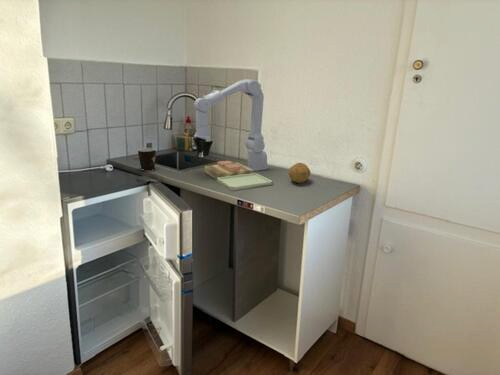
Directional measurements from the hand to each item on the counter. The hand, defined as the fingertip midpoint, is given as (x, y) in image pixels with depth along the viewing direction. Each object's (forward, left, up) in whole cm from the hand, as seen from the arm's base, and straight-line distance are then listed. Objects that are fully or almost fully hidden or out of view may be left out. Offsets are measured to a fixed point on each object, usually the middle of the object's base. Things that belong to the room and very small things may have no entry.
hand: (203, 154), depth 179 cm
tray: (-11, +20, -10) cm, 25 cm away
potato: (-34, +29, -10) cm, 46 cm away
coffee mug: (+23, -21, -10) cm, 32 cm away
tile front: (-11, +7, -7) cm, 15 cm away
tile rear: (-11, 0, -7) cm, 14 cm away
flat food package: (-11, +3, -10) cm, 16 cm away
